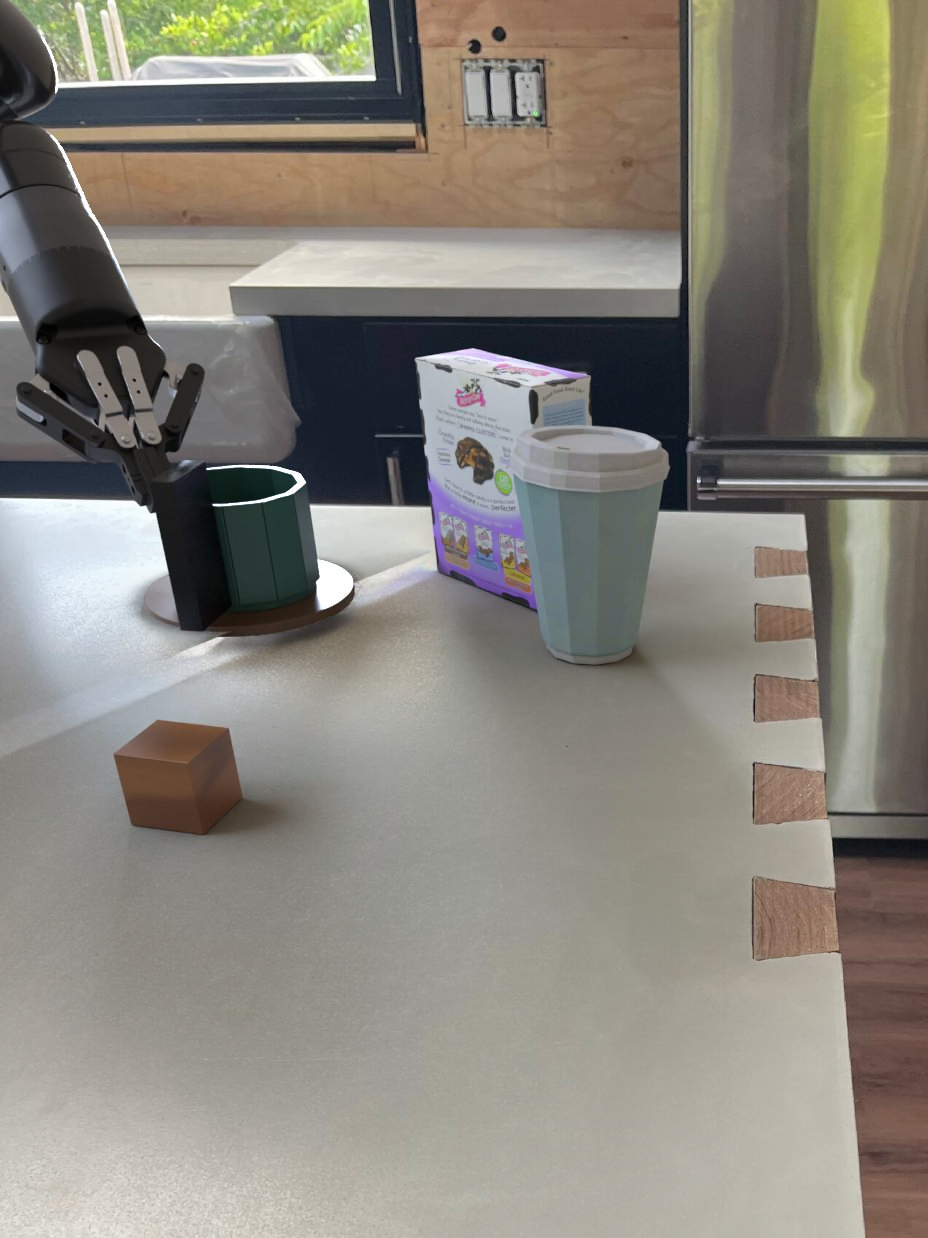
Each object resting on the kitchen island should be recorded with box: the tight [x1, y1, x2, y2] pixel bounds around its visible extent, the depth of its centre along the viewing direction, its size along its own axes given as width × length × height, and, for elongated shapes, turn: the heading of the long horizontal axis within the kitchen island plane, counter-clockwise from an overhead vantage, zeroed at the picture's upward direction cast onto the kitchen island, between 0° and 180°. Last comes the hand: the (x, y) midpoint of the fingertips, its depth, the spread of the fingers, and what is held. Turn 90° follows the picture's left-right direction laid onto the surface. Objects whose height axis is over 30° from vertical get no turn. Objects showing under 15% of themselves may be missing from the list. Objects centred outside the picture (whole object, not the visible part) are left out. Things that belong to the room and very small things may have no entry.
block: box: [112, 719, 243, 835], centre depth 74 cm, size 4×4×4 cm
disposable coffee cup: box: [508, 425, 671, 666], centre depth 91 cm, size 11×11×15 cm
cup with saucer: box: [142, 459, 356, 638], centre depth 95 cm, size 18×15×11 cm
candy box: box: [414, 348, 593, 610], centre depth 101 cm, size 14×6×16 cm, turn 46°
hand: (163, 505), depth 90 cm, fingers closed
